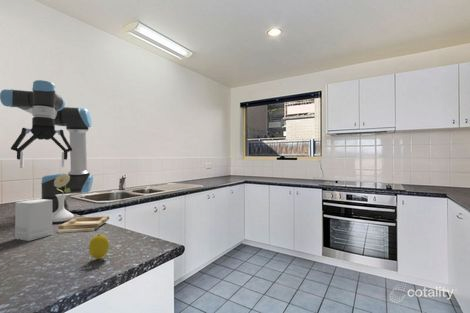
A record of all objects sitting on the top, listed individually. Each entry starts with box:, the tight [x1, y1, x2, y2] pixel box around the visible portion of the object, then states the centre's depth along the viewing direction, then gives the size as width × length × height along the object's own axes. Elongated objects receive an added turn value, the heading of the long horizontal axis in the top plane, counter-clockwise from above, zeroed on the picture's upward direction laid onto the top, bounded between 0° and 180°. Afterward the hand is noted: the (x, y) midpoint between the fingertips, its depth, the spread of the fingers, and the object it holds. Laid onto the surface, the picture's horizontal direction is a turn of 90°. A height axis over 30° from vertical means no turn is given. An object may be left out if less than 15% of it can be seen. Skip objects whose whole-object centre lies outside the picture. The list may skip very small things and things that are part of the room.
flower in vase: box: [52, 172, 75, 223], centre depth 124 cm, size 13×11×25 cm
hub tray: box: [57, 215, 110, 234], centre depth 115 cm, size 20×16×2 cm
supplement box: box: [14, 198, 53, 242], centre depth 99 cm, size 9×9×15 cm
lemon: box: [88, 233, 110, 260], centre depth 76 cm, size 6×6×8 cm
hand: (43, 167), depth 101 cm, fingers open, 13 cm apart
